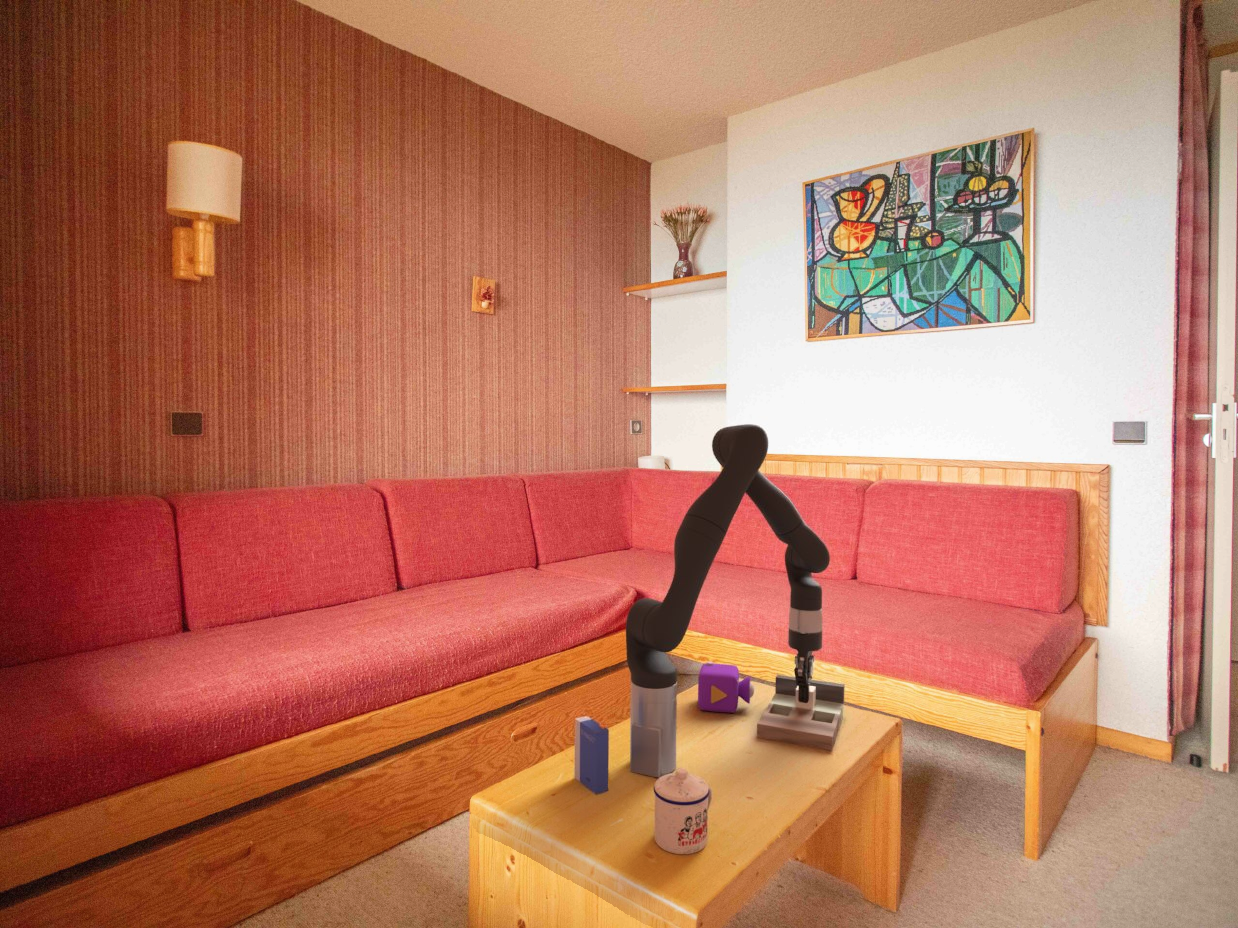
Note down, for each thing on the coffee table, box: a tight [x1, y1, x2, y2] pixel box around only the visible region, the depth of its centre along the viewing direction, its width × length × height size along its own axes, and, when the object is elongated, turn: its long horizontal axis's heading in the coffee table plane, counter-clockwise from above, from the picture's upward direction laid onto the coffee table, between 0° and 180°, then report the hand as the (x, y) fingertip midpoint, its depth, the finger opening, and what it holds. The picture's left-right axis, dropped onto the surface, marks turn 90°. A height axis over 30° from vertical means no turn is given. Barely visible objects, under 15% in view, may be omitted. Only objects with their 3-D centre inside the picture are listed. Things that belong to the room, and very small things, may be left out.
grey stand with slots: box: [756, 674, 845, 752], centre depth 162 cm, size 22×16×7 cm
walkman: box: [574, 715, 610, 795], centre depth 134 cm, size 8×3×12 cm, turn 34°
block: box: [795, 686, 816, 709], centre depth 166 cm, size 4×4×4 cm
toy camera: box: [697, 660, 755, 714], centre depth 172 cm, size 11×14×10 cm
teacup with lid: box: [653, 767, 713, 855], centre depth 116 cm, size 12×9×12 cm
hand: (803, 701), depth 163 cm, fingers closed
